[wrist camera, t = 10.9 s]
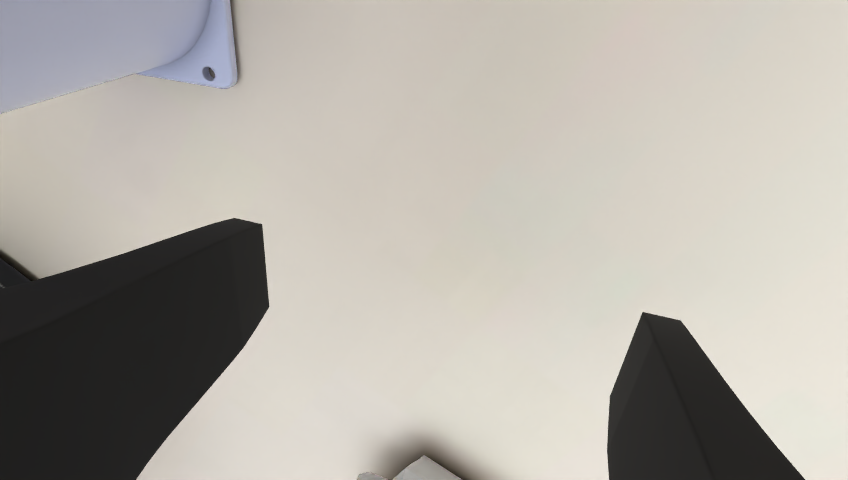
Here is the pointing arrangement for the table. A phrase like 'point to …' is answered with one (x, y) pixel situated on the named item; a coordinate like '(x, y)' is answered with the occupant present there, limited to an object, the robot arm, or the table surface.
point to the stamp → (417, 472)
